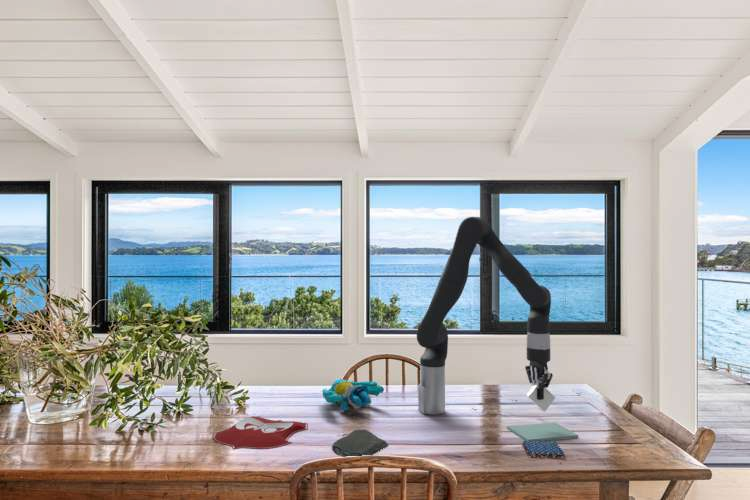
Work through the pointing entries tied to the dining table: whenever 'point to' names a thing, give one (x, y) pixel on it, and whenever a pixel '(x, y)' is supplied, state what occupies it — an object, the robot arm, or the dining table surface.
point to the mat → (542, 432)
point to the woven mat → (543, 449)
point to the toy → (351, 393)
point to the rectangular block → (541, 403)
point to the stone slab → (358, 444)
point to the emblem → (259, 433)
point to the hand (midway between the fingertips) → (538, 398)
